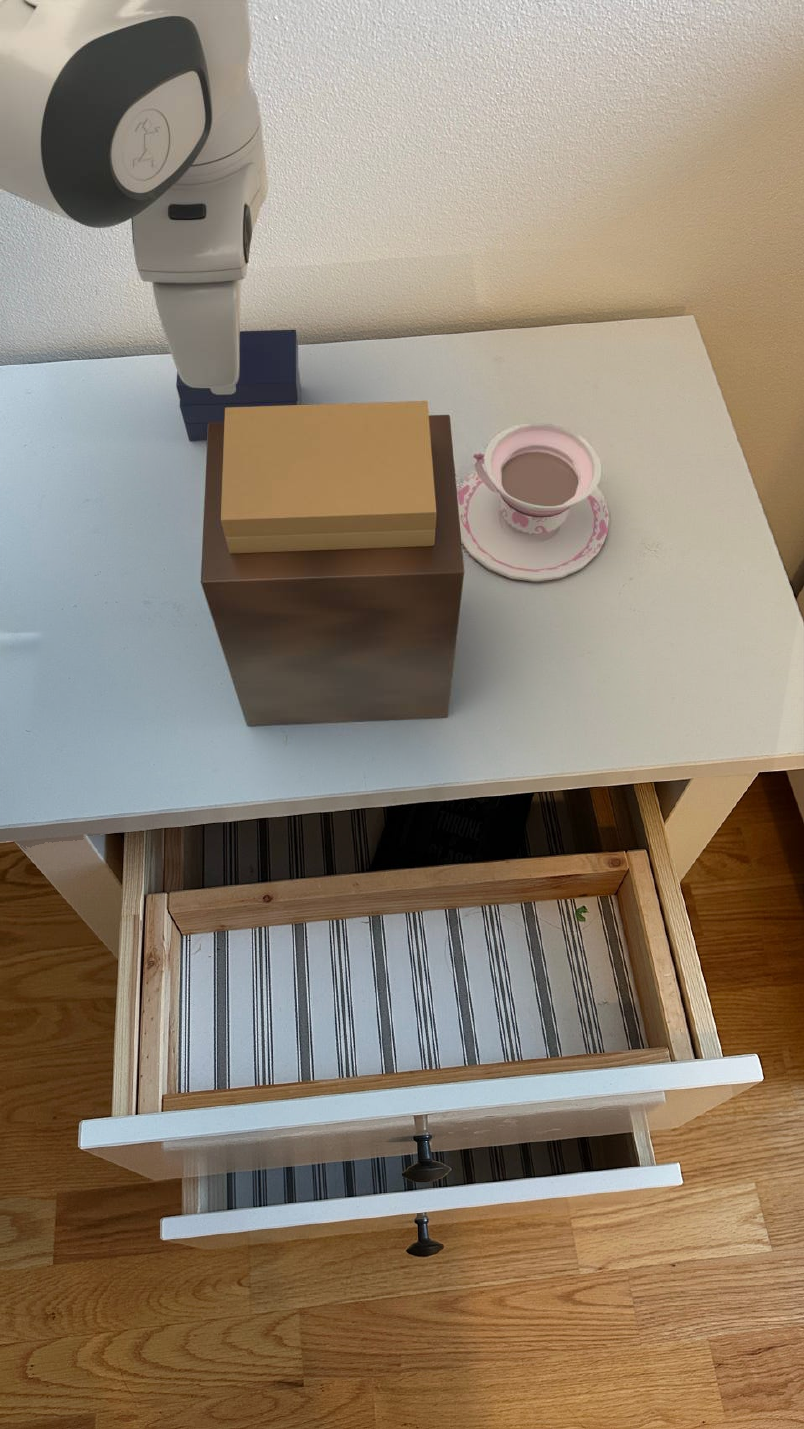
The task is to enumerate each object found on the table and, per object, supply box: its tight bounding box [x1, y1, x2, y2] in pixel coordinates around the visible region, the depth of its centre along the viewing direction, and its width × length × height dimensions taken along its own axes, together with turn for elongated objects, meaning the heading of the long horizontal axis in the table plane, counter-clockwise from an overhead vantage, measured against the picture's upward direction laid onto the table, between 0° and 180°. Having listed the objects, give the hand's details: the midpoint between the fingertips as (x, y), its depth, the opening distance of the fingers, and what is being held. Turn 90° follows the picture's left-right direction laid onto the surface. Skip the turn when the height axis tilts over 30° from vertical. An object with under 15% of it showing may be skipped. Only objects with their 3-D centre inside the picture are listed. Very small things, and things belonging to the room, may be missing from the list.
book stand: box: [200, 414, 465, 727], centre depth 62 cm, size 14×11×18 cm
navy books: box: [179, 366, 302, 442], centre depth 78 cm, size 9×6×4 cm, turn 93°
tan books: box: [221, 400, 436, 554], centre depth 53 cm, size 11×8×3 cm
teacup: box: [457, 422, 610, 583], centre depth 73 cm, size 12×12×6 cm
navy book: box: [175, 329, 299, 405], centre depth 76 cm, size 9×6×2 cm, turn 93°
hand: (226, 340), depth 73 cm, fingers open, 8 cm apart
